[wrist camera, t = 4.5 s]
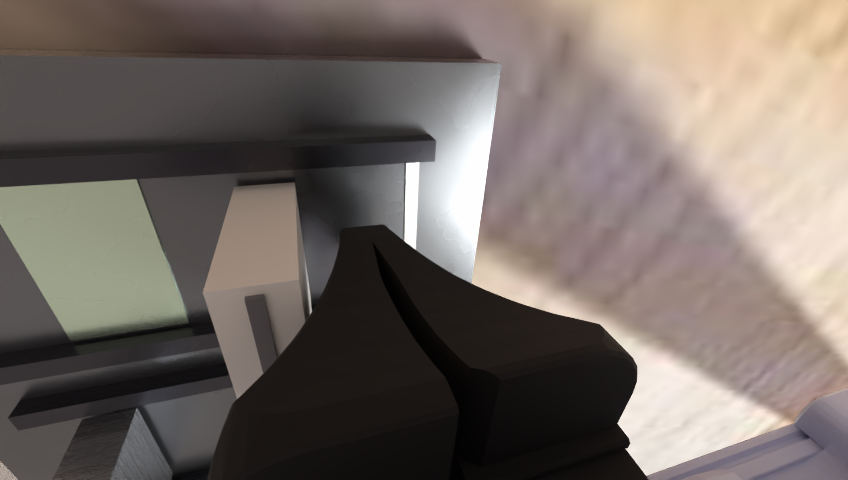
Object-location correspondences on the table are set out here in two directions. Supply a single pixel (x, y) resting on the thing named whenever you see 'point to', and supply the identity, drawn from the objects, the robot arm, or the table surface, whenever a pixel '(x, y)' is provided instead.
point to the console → (195, 225)
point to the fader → (258, 280)
